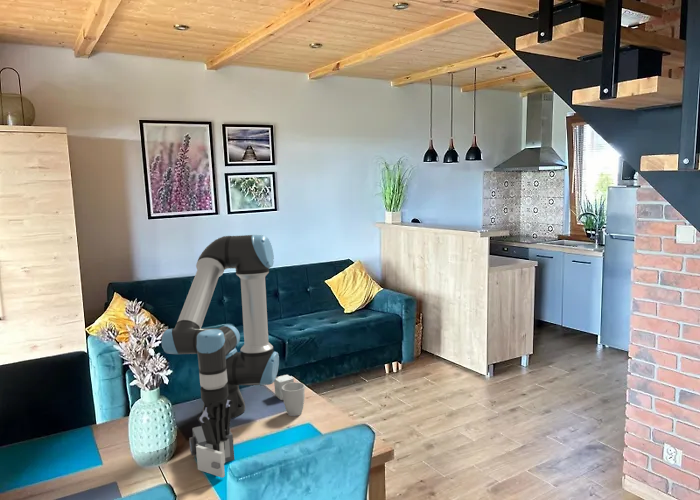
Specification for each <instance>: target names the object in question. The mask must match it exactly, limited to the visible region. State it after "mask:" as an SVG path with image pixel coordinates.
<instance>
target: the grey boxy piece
mask: <svg viewBox="0 0 700 500" xmlns="http://www.w3.org/2000/svg"><path fill="white" fill-rule="evenodd" d="M191 429H192V437H189V438H188V439H189V441H188V442H189V449H190V454H191V456H195V459H197V453H196V444H198V445H200V446H203V447H206V448H210V449H213V445H211V444H207V442H206V439H205V436H204V433H203V429H202V426H201V425H198V426H195V427H192V428H191ZM225 431H226V430H225ZM226 438H228V439H227V441H225V450H224V453H225V463H228V462H231V461H235V448H234V436H233V433H232V431H231V430H230V433H229V435H228V436H226Z"/></svg>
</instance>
